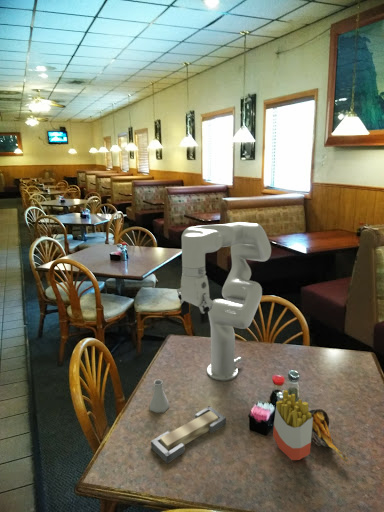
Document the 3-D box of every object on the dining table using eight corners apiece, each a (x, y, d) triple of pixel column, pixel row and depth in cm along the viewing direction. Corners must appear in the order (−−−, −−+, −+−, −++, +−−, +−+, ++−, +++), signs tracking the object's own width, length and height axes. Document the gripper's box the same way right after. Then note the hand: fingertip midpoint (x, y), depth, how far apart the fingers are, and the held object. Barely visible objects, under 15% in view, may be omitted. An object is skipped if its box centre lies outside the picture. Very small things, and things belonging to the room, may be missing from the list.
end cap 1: (168, 437, 117) (168, 430, 116) (184, 451, 111) (184, 445, 110) (151, 447, 113) (150, 441, 112) (167, 463, 107) (166, 456, 106)
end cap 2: (211, 433, 118) (211, 426, 117) (195, 420, 124) (195, 414, 123) (225, 423, 122) (226, 417, 121) (209, 411, 128) (209, 405, 127)
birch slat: (210, 419, 125) (210, 410, 124) (218, 426, 122) (218, 417, 121) (160, 447, 113) (160, 437, 112) (167, 455, 110) (167, 445, 109)
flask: (166, 414, 127) (165, 389, 124) (146, 412, 129) (144, 386, 126) (171, 401, 134) (171, 377, 131) (152, 399, 135) (151, 375, 133)
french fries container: (298, 467, 105) (302, 413, 100) (271, 442, 114) (274, 392, 109) (309, 460, 107) (313, 407, 102) (282, 437, 116) (285, 387, 111)
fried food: (317, 405, 123) (364, 421, 107) (313, 440, 121) (360, 462, 105) (296, 403, 119) (341, 419, 104) (292, 439, 117) (337, 461, 101)
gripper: (220, 274, 117) (220, 323, 122) (185, 263, 130) (186, 308, 135) (203, 279, 113) (203, 330, 117) (168, 267, 125) (170, 313, 130)
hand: (194, 318), depth 126 cm, fingers open, 9 cm apart
